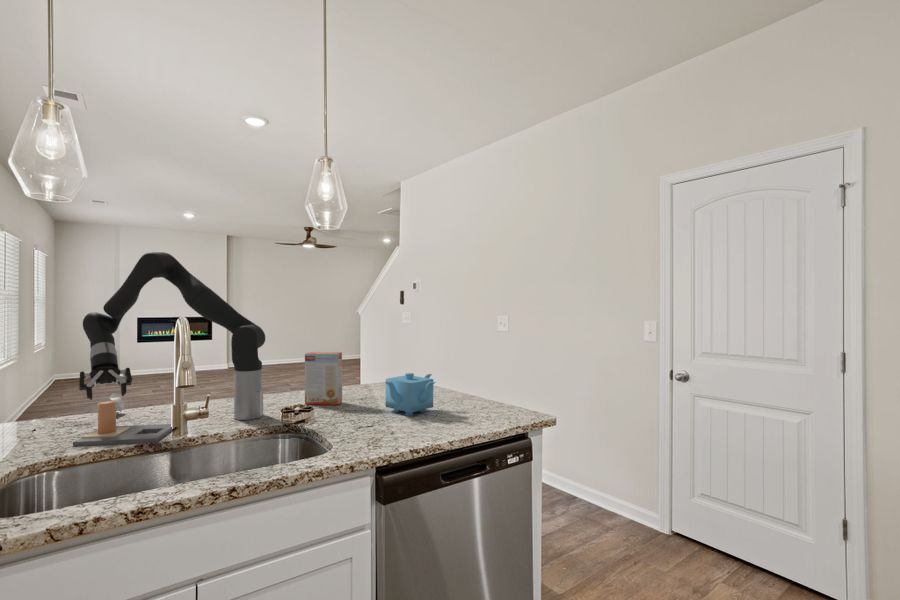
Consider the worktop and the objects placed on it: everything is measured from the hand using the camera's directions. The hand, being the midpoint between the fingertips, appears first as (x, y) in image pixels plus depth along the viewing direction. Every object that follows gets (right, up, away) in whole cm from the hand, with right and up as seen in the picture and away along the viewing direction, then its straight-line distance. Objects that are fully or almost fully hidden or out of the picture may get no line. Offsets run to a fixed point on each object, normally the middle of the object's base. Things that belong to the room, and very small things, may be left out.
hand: (107, 396), depth 154 cm
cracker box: (+62, -11, +37) cm, 73 cm away
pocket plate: (+13, -11, -9) cm, 19 cm away
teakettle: (+99, -11, +23) cm, 102 cm away
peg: (+7, -9, -10) cm, 15 cm away
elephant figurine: (-11, -10, +17) cm, 23 cm away
